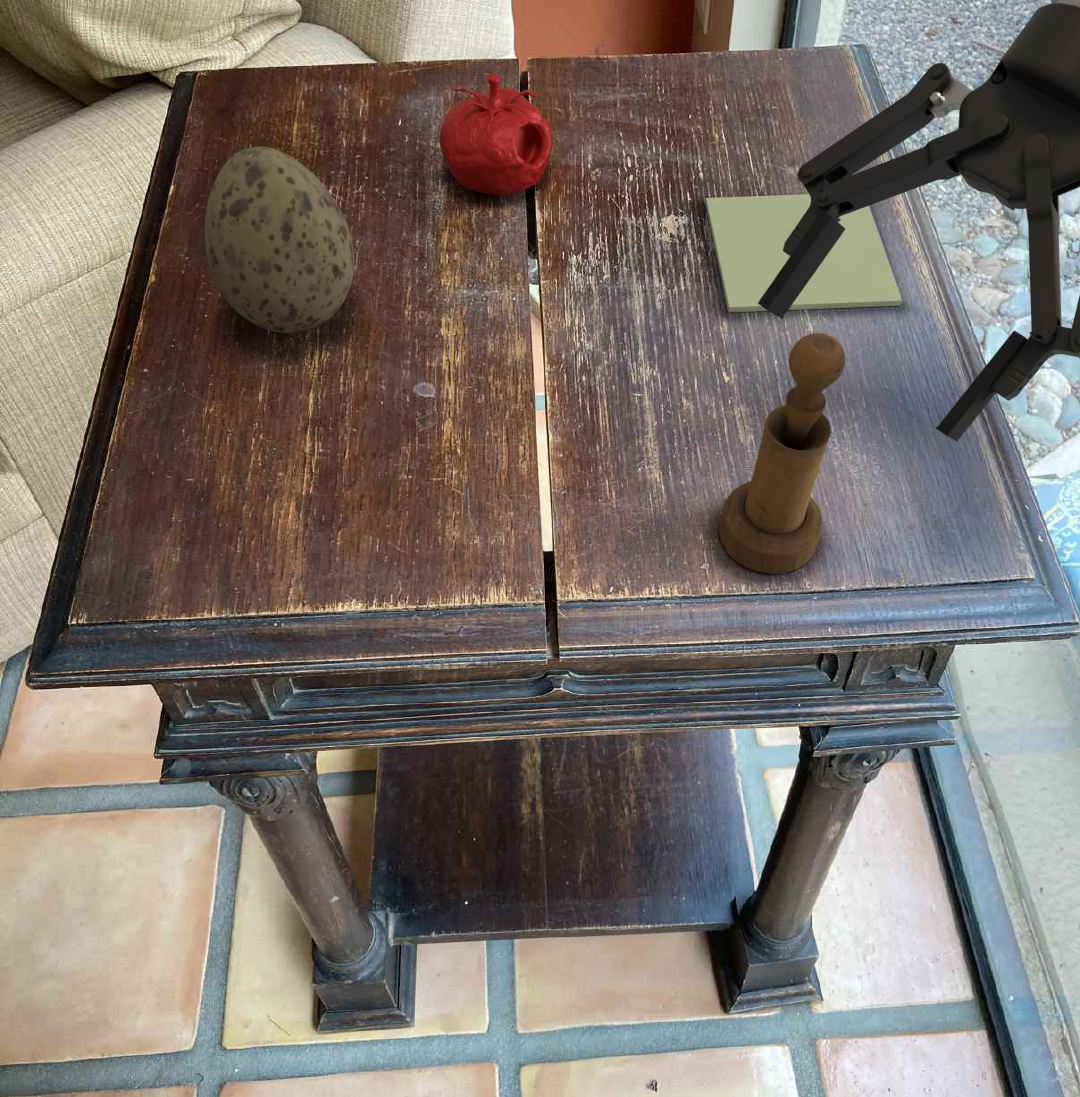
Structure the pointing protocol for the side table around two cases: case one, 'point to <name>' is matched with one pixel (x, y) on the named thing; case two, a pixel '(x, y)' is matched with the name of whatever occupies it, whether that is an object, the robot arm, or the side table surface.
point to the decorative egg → (277, 242)
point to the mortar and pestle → (786, 469)
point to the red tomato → (496, 140)
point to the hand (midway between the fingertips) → (853, 370)
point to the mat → (757, 256)
